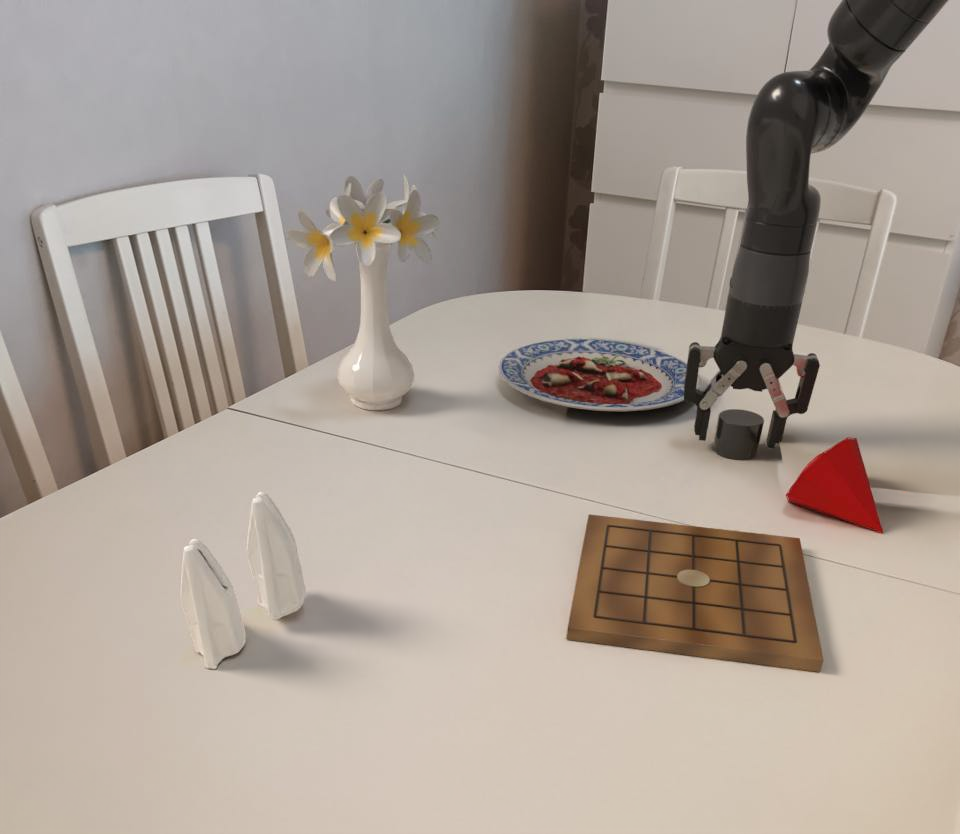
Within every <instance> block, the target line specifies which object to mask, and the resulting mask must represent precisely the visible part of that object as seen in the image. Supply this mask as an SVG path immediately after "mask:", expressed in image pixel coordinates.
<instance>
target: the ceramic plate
mask: <svg viewBox="0 0 960 834" xmlns="http://www.w3.org/2000/svg"><path fill="white" fill-rule="evenodd" d="M686 369H687V362H685V361H684V360H682V359H680V358H678V357H676V356H674V355H672V354H669V353H667V352H664V351H662V350H658V349H655V348H652V347H648V346H644V345H640V344H635V343H630V342H623V341H617V340H615V341H614V340H606V339H595V338H594V339H593V338H589V339H588V338H570V339H569V338H567V339H566V338H565V339H555V340H553V339H552V340H545V341H540V342H534V343H531V344H528V345H523V346H521V347H520V346H519V347H518V348H516V349H513V350H511V351H510V352H508V353H506V354H505V355H504V356H503V357H502V358H501V359H500V361H499V363H498V373H499V375H500V377H501V378H502V380H503V381H504V382H505V383H506V384H507V385H508V386H510V387H511V388H513V389H515V390H516V391H518V392H520V393H522V394H523V395H526V396H528V397H531V398H533V399H535V400H539V401H542V402H545V403H548V404H553V405H557V406H562V407H566V408H572V409H579V410H587V411H597V412H599V411H600V412H637V411H649V410H655V409H661V408H666V407H670V406H673V405H675V404H679V403H681V402H683V401H684V402H685V400H684V385H685V377H686ZM700 385H701V378H700V375H699V374H698V378H697V386H696V389H698V390H699V387H700Z"/></svg>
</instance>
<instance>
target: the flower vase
mask: <svg viewBox="0 0 960 834" xmlns="http://www.w3.org/2000/svg"><path fill="white" fill-rule="evenodd" d="M343 184H344V185H343V189H344V193H342V194H341V193H340V195H338V196H337V197H333V198H332V199H331V201H330V203H329V207H327V209H326V210H325V215H326V216H327V217H329V218H330V219H332V220H333V221H334V222H335V223H330V224H328V225H327V226H325V227H324V228H323V230H321V229H320V228H319V227H318V226H317V225H316V224H315V223H314V222H313V220H312V219H311V218H310V217H309V216H308V214H306V212H304V211H303V210H299V211H298V213H297V215H298V220H299V223H300V225H301V227H302V228H303V229H304V230H300V229H296V228H289V229H287V230H286V231H285V236H286V238H287V239H288V240H289V241H290V243H292V245H294V246H295V247H298V248H300V249H304V250H305V249H306V250H307V249H308V250H307V252H306V253H305V256H304V258H303V270H304V273H305V275H306V276H307V277H309V278H313V277H314V276H316V274H317V273H318V271H319V269H320V267H321V265H322V268H323V271H324V273H325V275H326V276H327V278H328V279H329V280H330V281H331V282H334V283H335V282H336V281H337V273H336V269H335V263H334V260H333V252H334V249H335V247H346V246H351V245H353V247H354V250H355V252H356V257H357V258H356V259H357V263H358V268H359V277H360V278H359V279H360V318H359V328H358V333H357V335H356V338H355V341H354V343H353V345H352V347H351V348H350V349H349V350H348V351H347V352H346V353H345V354H344V356H343V358H341V360H340V362H339V364H338V368H337V371H336V373H337V374H336V377H337V383H338V384H339V385H340V387H341V388H342V390H343V391H344V393H346V394H347V395H348V396H350V400H351V403H352V404H353V405H354V406H356V407H357V408H360V409H361V410H362V409H363V410H367V411H387V410H391V409H394V408H396V407H398V406H400V405H401V403H402V401H403V396H404V395H405V394H407V393H408V392H409V391H410V390H411V388H412V386H413V384H414V382H415V378H416V375H415V370H414V367H413V364H412V362H411V360H410V358H409V357H408V356H407V355H406V354H405V353H404V352H403V351H402V350H401V348H400V347H399V346H398V345H397V343H396V341H395V339H394V336H393V333H392V330H391V325H390V322H389V321H390V320H389V319H390V318H389V310H388V291H387V271H388V269H387V268H388V261H389V254H390V250H391V247H392V245H393V244H395V243H397V257H398V260H399V261H400V262H401V263H405V262H406V261H407V260H408V259H409V258H410V255H411V250H412V251H413V252H414V254H415V255H416V256H417V257H418V258H419V260H421V262H423V263H424V264H426V265H427V264H428V265H430V264H431V262H432V259H433V258H432V252H431V248H430V246H429V244H428V242H426V240H425V239H423V238H422V237H425V236H429V235H431V236H432V237H434V238H435V239H437V236H436V234H435V233H434V232H436V231H437V230H438V228H439V226H440V222H441V221H440V218H439V217H438V216H437V215H435V214H433V213H432V214H431V213H428V214H426V213H425V212H423V211H420V208H421V204H422V201H421V195H420V192H419V190H418V188H417V187H416V185H414V184H412V186H411V188H410V184H409V180H408V178H407V176H406V173H403V186H404V187H403V188H404V189H403V192H404V193H403V196H404V197H403V199H399V200H394V201H391V202H389V203H388V199H387V195H386V194H385V193H384V192H382V191H383V188H384V185H385V182H384V180H383V178H377V179H376V180H374V181H373V182H371V183H370V184H369V186H368V188H367V189H366V192H364V190H363V189H364V188H363V187H362V184H361V183H360V181H359V180H358V178H356V177H355V176H353V175H349V176H347V177H346V178H345V180H344V183H343ZM401 207H403V209H402V211H400V210H399V209H400V208H401ZM388 217H389V218H388ZM386 218H388V219H386Z"/></svg>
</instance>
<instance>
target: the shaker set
mask: <svg viewBox="0 0 960 834" xmlns="http://www.w3.org/2000/svg"><path fill="white" fill-rule="evenodd" d="M246 555H247V560H248V564H249V568H250V569H249V570H250V572H251V576H252V580H253V585H254V589H255V593H256V598H257V603H258V605H259V606H260V607H261V608H262V609H263V610H264V611H265V612H266V613H267V617H268V618H269V619H272V620H279V619H281V618H282V617H286V616H289V615H292V614H293V613H295V612H298V611H299V610H300V609H301V607H302V606H303V604H304V602H305V601H306V597H307V588H306V585H305V579H304V573H303V570H302V565H301V560H300V554H299V551H298V546H297V542H296V538H295V536H294V534H293V531H292V530H291V527H290V526H289V525H288V523H287V521H286V518H284V516H283V514H282V513H281V511H280V510H279V507H277V505H276V503H275V502H274V501H273V500H272V498H271V497H270V496H269V494H268V493H266V492H264V491H263V492H262V491H259V492H258V493H256V495H255V497H254V498H253V499H252V501H251V505H250V513H249V521H248V531H247V539H246ZM179 593H180V595H179V596H180V603H181V608H182V611H183V613H184V614H183V615H184V617H185V620H186V623H187V626H188V630H189V633H190V636H191V640H192V643H193V645H194V650H195V652H196V653H200V655H202V656H203V658H204V667H205V668H207V669H208V670H209V669H211V670H216V669H217V667H218V665H219V663H221V662H222V661H223V659H226V657H227V658H229V657H231V656H233V655H236V654H238V653H239V652H240V651H241V650H242V648H243V647H244V646H245V644H246V642H247V641H246V639H247V631H246V628H245V625H244V621H243V617H242V613H241V610H240V606H239V603H238V599H237V595H236V593H235V589H234V586H233V583H232V582H231V579H230V578H229V577H228V575H227V574H226V572H225V570H224V568H223V567H222V566H221V565H220V563H219V561H218V560H217V559H216V557H215V556H214V555H213V553H212V552H211V551H210V549H209V548H208V546H206V544H204V542H203V541H202V540H200V539H197V538H191V539H190V540H189V543H188V545H186V546H184V548H183V553H182V563H181V576H180V591H179Z"/></svg>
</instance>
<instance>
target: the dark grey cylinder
mask: <svg viewBox="0 0 960 834" xmlns="http://www.w3.org/2000/svg"><path fill="white" fill-rule="evenodd" d="M764 424H765V419H764V417H763V416H762V415H760V414H759V413H757V412H754V411H751V410H747V409H739V408H734V409H733V408H732V409H725V410H722V411H721V412H719V413H718V417H717V421H716V427H715V433H714V437H713V438H714V439H713V443H712V450H713V451H714V453H716V455H719V456H720V457H722V458H726V459H730V460H737V461H741V460H743V461H744V460H751V459H753V458H755V457H757V455H758V451H759V447H760V443H761V438H762V433H763V428H764Z"/></svg>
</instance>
